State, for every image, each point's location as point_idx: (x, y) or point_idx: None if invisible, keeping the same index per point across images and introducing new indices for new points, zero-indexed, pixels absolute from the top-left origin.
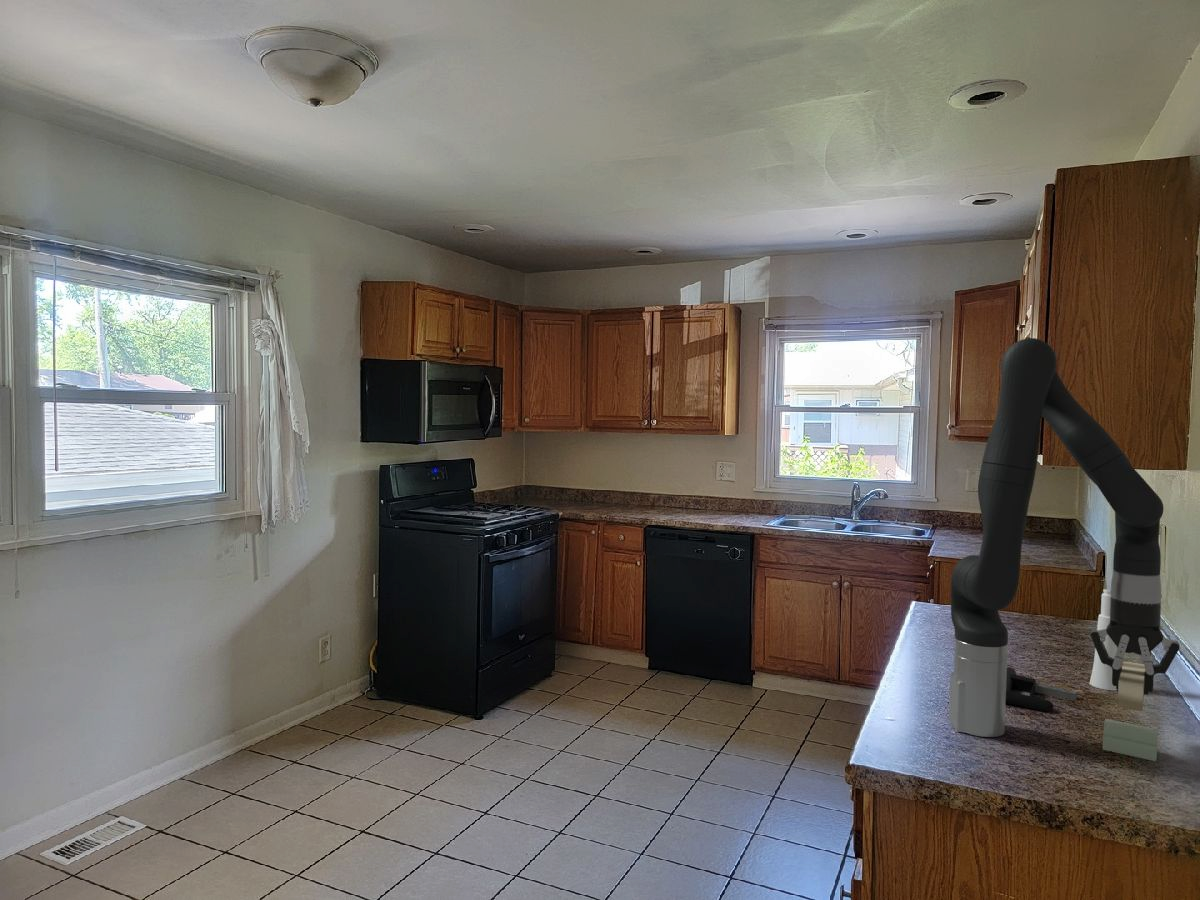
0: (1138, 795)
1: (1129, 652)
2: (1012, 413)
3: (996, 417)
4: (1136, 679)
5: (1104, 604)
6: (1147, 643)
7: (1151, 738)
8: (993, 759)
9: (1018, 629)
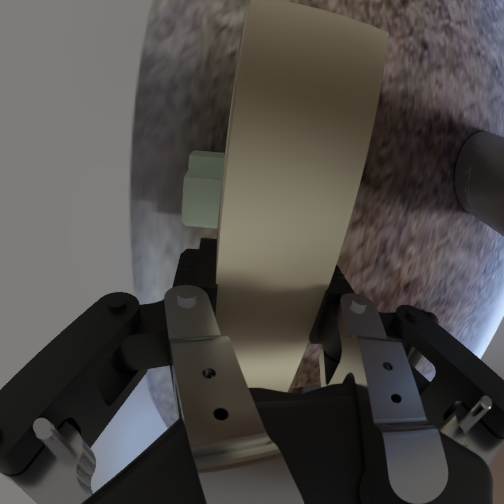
0: None
1: (325, 388)
2: None
3: None
4: (275, 139)
5: None
6: (199, 486)
7: (199, 174)
8: (467, 39)
9: None
